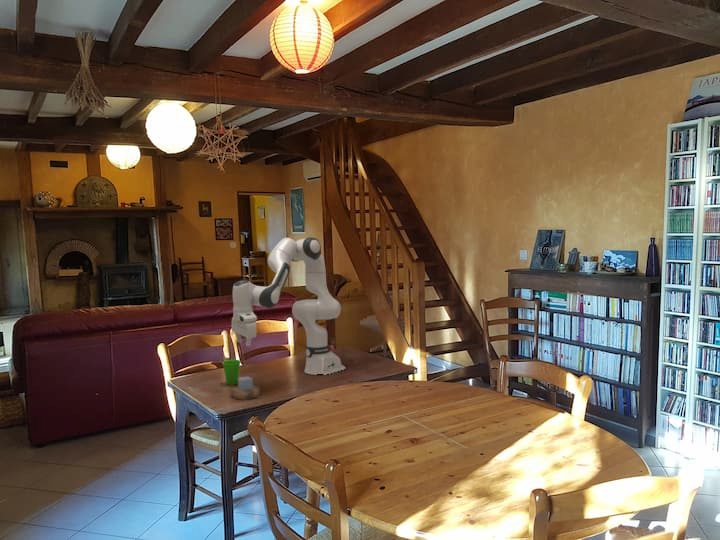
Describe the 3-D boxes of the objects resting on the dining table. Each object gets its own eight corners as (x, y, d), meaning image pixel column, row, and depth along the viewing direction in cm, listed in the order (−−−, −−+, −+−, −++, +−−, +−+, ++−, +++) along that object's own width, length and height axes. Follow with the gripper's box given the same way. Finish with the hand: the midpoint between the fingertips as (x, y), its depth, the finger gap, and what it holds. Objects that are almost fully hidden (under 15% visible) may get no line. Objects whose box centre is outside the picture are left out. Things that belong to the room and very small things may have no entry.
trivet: (252, 389, 244) (252, 382, 244) (264, 395, 234) (264, 389, 233) (226, 394, 236) (226, 388, 236) (238, 401, 226) (237, 395, 226)
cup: (238, 386, 248) (238, 364, 248) (220, 386, 249) (219, 364, 248) (243, 380, 257) (242, 359, 257) (225, 380, 258) (225, 359, 257)
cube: (248, 386, 238) (247, 376, 238) (252, 389, 234) (252, 378, 234) (238, 388, 235) (237, 378, 235) (242, 391, 231) (242, 380, 231)
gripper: (227, 312, 245) (228, 340, 246) (245, 319, 229) (246, 349, 230) (239, 311, 249) (240, 338, 250) (258, 317, 233) (259, 347, 234)
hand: (243, 343), depth 240 cm, fingers open, 8 cm apart
